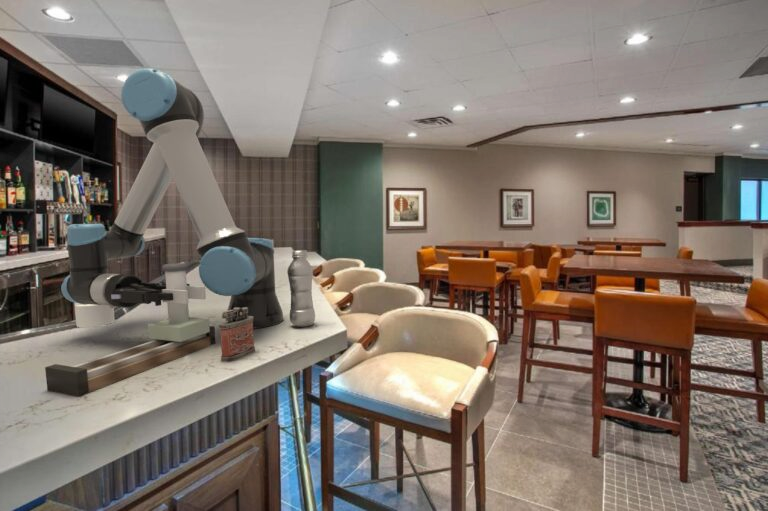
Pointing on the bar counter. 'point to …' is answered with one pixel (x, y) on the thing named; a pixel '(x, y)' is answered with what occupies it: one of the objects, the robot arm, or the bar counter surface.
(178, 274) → the carriage
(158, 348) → the rail track
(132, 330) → the bar counter surface
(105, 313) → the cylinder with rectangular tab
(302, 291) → the plastic bottle
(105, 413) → the bar counter surface
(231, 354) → the lighter
